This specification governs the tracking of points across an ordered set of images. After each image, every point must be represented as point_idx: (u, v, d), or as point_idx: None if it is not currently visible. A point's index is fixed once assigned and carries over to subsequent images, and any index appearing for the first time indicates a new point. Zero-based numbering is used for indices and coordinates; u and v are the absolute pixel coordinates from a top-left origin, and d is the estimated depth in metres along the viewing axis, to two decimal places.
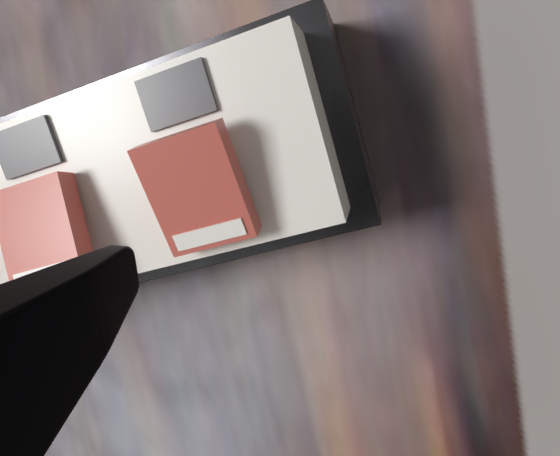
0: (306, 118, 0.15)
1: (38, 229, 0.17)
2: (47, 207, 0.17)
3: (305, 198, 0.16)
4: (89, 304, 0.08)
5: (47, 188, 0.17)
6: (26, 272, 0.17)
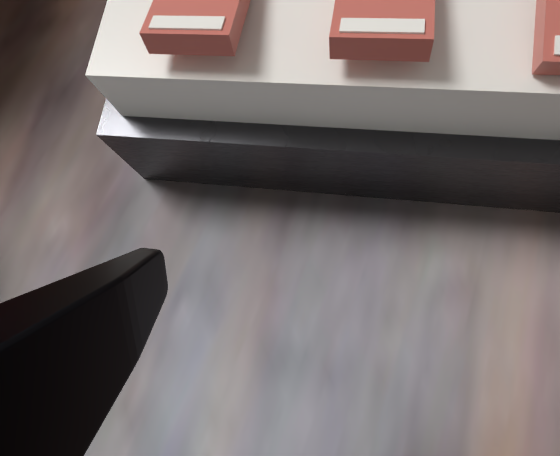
0: None
1: None
2: None
3: None
4: (123, 309, 0.08)
5: None
6: (361, 18, 0.15)
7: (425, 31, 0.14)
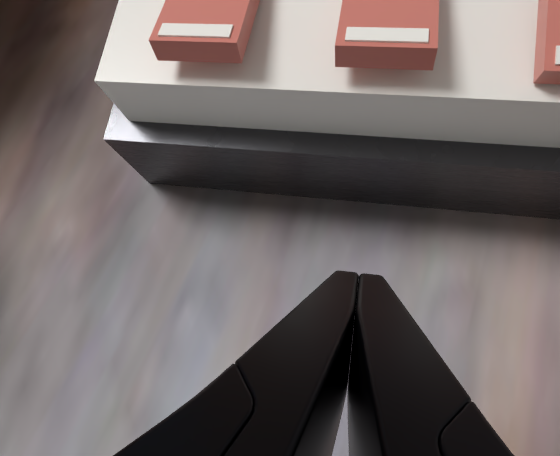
0: None
1: (397, 1, 0.15)
2: None
3: None
4: (350, 342, 0.07)
5: None
6: (366, 28, 0.15)
7: (429, 41, 0.14)
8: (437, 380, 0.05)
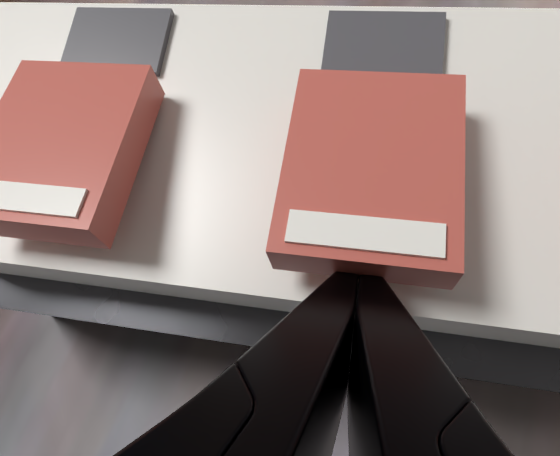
0: None
1: (386, 151, 0.08)
2: (422, 122, 0.08)
3: None
4: (350, 342, 0.07)
5: (434, 94, 0.09)
6: (326, 214, 0.08)
7: (448, 253, 0.07)
8: (437, 380, 0.05)
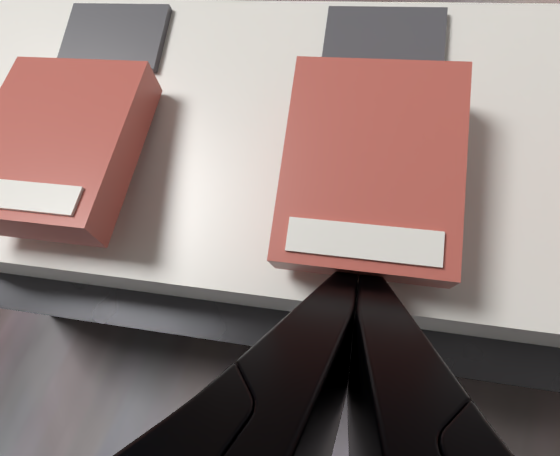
0: None
1: (386, 151, 0.08)
2: (424, 118, 0.08)
3: None
4: (350, 341, 0.07)
5: (438, 85, 0.08)
6: (326, 222, 0.08)
7: (445, 262, 0.07)
8: (437, 380, 0.05)
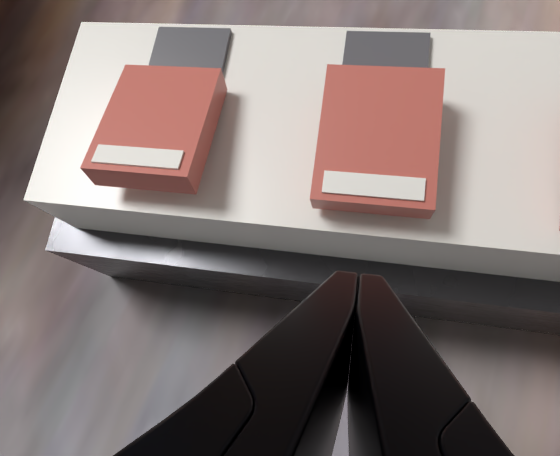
0: None
1: (388, 127, 0.12)
2: (413, 105, 0.12)
3: None
4: (350, 342, 0.07)
5: (422, 83, 0.12)
6: (348, 173, 0.12)
7: (426, 197, 0.12)
8: (437, 380, 0.05)
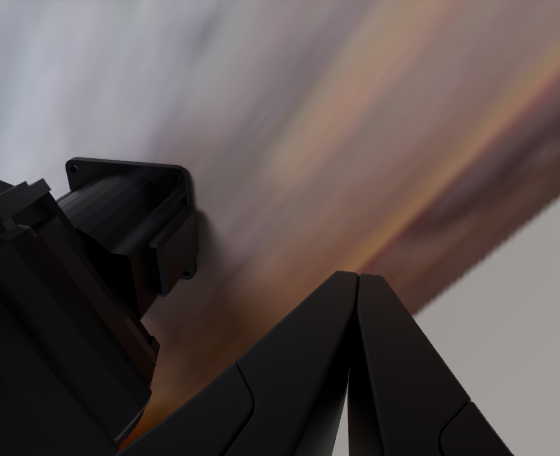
0: None
1: None
2: None
3: None
4: (350, 342, 0.07)
5: None
6: None
7: None
8: (437, 380, 0.05)
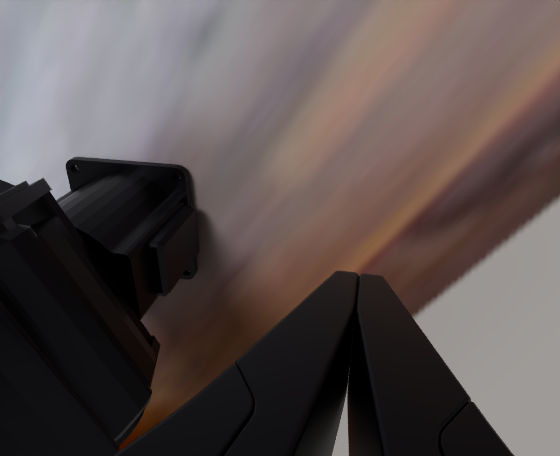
0: None
1: None
2: None
3: None
4: (350, 342, 0.07)
5: None
6: None
7: None
8: (437, 380, 0.05)
